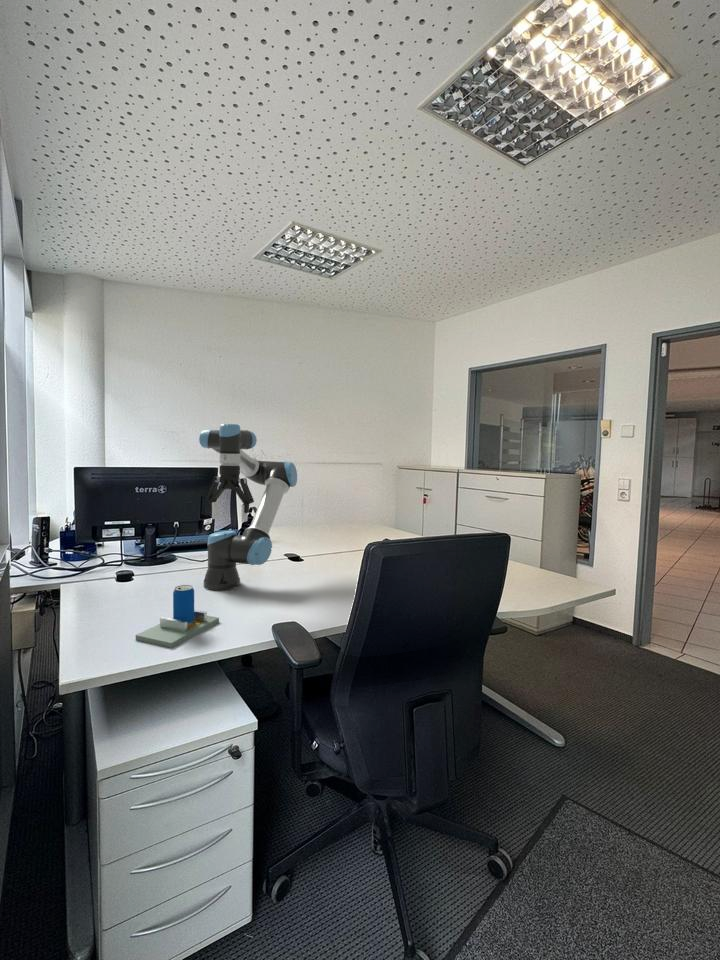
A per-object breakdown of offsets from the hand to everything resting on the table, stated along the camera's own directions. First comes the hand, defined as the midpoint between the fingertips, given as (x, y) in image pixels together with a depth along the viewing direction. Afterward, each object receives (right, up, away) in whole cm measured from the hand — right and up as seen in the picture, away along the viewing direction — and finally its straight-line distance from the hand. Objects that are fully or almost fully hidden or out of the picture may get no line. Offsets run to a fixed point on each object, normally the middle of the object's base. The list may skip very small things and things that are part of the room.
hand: (229, 520), depth 175 cm
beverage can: (-8, -32, -25) cm, 41 cm away
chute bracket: (-8, -32, -25) cm, 41 cm away
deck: (-9, -34, -27) cm, 44 cm away
